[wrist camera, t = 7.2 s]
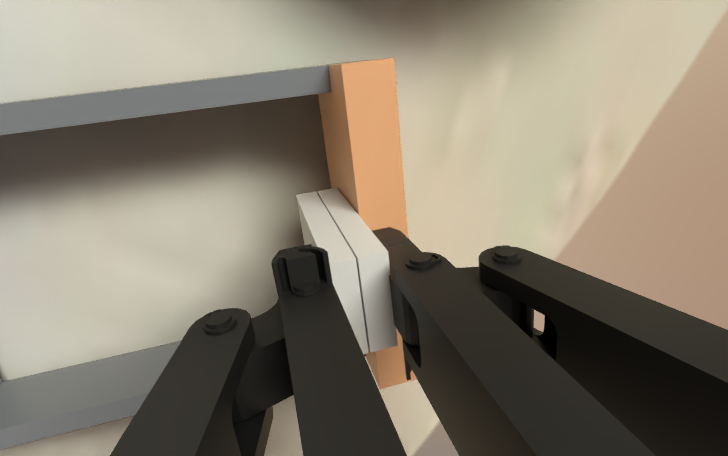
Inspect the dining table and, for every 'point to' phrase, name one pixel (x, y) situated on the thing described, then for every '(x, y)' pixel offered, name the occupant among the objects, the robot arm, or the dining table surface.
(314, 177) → the dining table surface
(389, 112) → the drawer
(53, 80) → the dining table surface
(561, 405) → the robot arm
